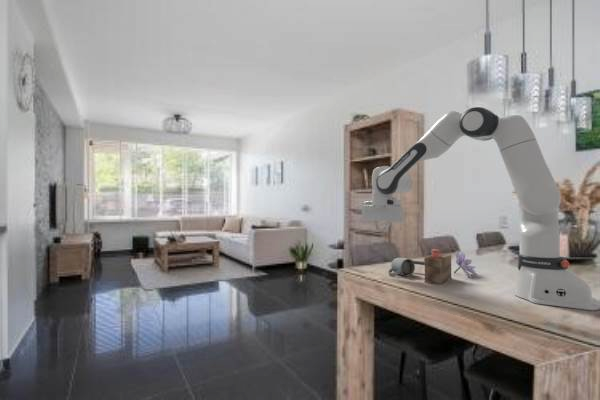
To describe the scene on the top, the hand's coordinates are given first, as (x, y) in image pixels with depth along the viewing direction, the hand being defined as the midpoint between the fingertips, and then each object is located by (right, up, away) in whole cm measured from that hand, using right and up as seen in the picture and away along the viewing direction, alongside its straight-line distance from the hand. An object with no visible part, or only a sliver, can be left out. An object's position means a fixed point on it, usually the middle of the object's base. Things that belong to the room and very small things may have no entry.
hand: (381, 230), depth 151 cm
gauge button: (+17, -12, -19) cm, 28 cm away
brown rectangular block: (+19, -19, -17) cm, 32 cm away
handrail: (+16, -19, -3) cm, 25 cm away
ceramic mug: (+7, -19, -6) cm, 21 cm away
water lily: (+35, -19, -8) cm, 41 cm away
